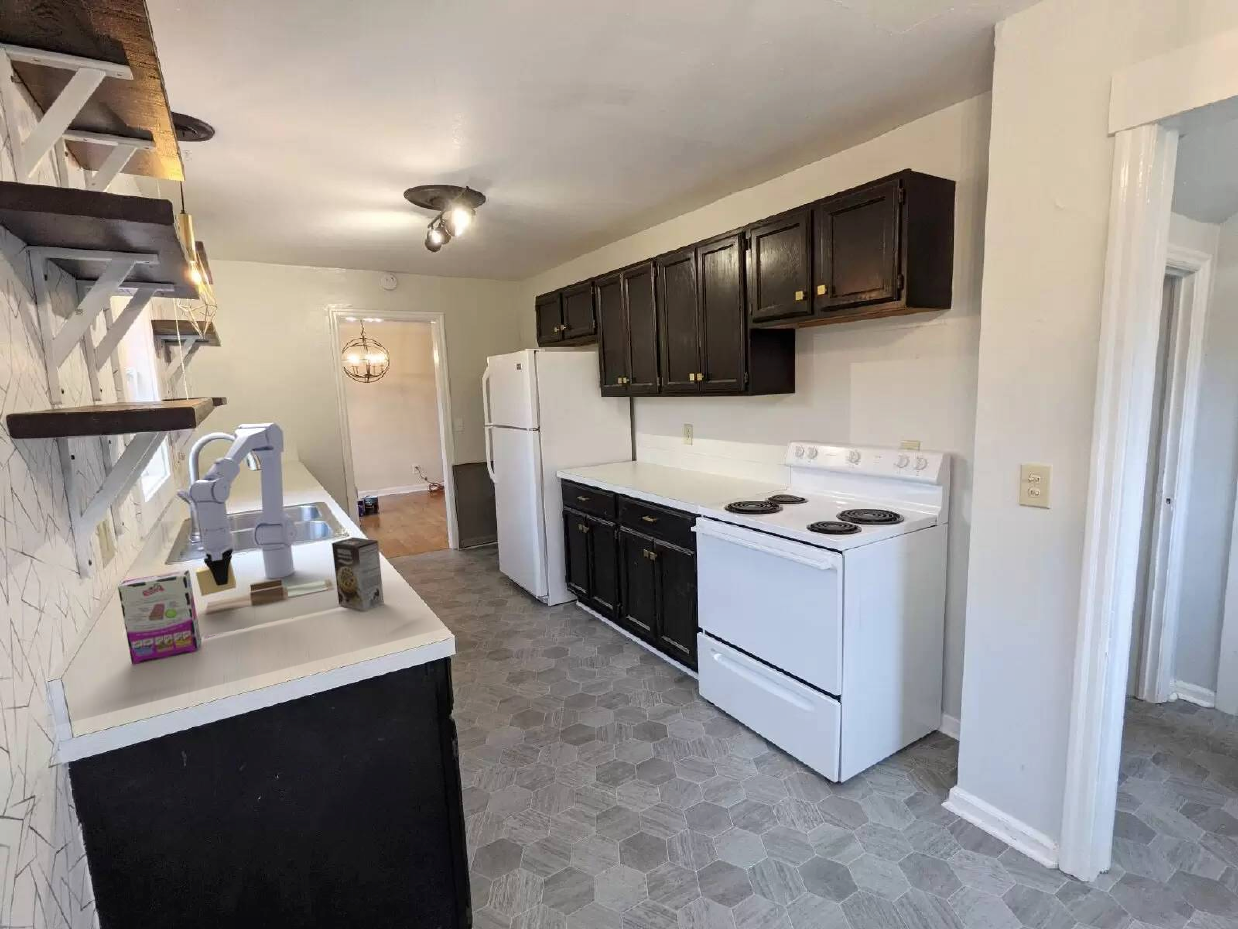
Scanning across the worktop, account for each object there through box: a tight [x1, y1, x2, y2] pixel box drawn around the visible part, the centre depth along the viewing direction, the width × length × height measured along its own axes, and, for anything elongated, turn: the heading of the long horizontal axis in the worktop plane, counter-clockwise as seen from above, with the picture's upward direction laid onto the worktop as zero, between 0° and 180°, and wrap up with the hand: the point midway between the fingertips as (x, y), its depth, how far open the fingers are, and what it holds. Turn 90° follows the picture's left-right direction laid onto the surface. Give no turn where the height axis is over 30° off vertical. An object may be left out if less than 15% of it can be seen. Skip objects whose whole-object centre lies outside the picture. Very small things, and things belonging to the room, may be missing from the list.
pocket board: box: [204, 577, 335, 616], centre depth 154 cm, size 10×28×4 cm, turn 121°
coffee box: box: [331, 536, 385, 613], centre depth 146 cm, size 9×6×16 cm
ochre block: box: [195, 561, 237, 597], centre depth 148 cm, size 4×7×6 cm, turn 121°
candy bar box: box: [117, 569, 202, 665], centre depth 123 cm, size 11×5×16 cm, turn 117°
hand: (222, 581), depth 148 cm, fingers closed on ochre block, 4 cm apart
